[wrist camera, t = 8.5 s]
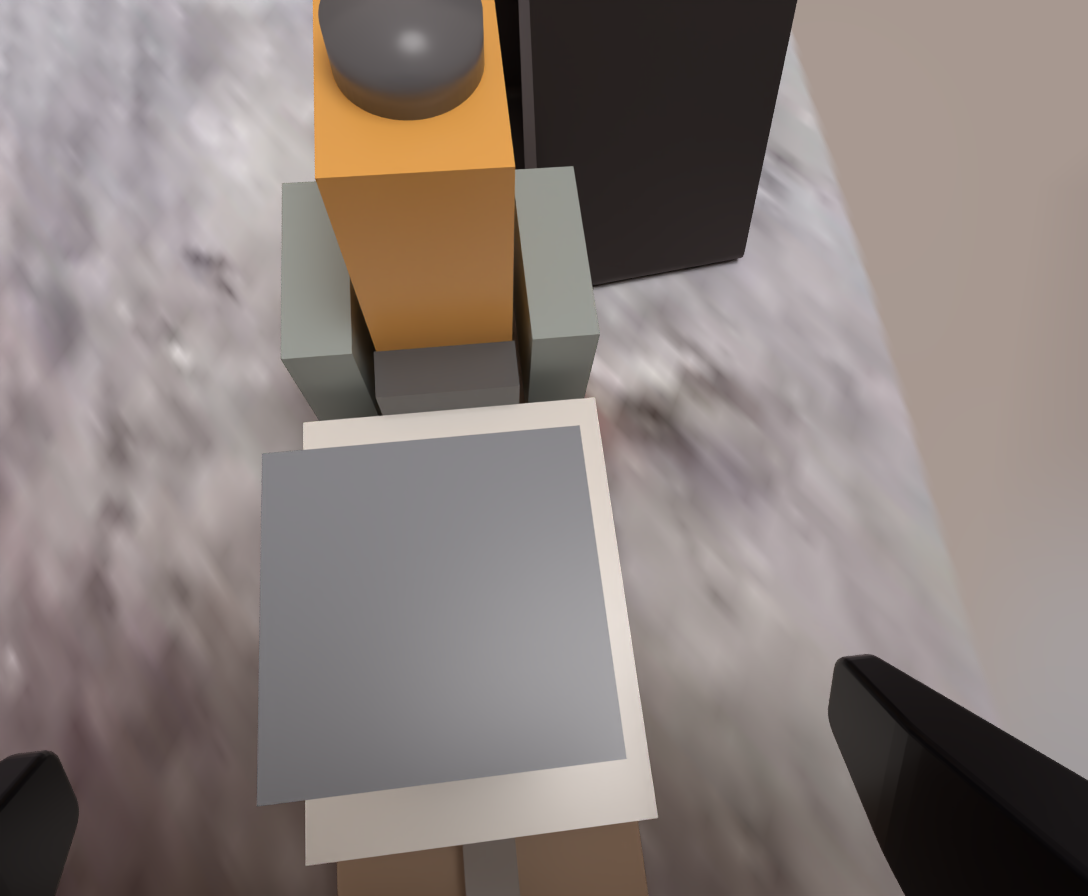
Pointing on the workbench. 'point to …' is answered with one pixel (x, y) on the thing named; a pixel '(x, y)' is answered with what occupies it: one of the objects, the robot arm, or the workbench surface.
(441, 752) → the carriage
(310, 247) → the end housing
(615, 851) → the rail bed
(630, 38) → the phone stand
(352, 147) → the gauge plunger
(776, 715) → the workbench surface
